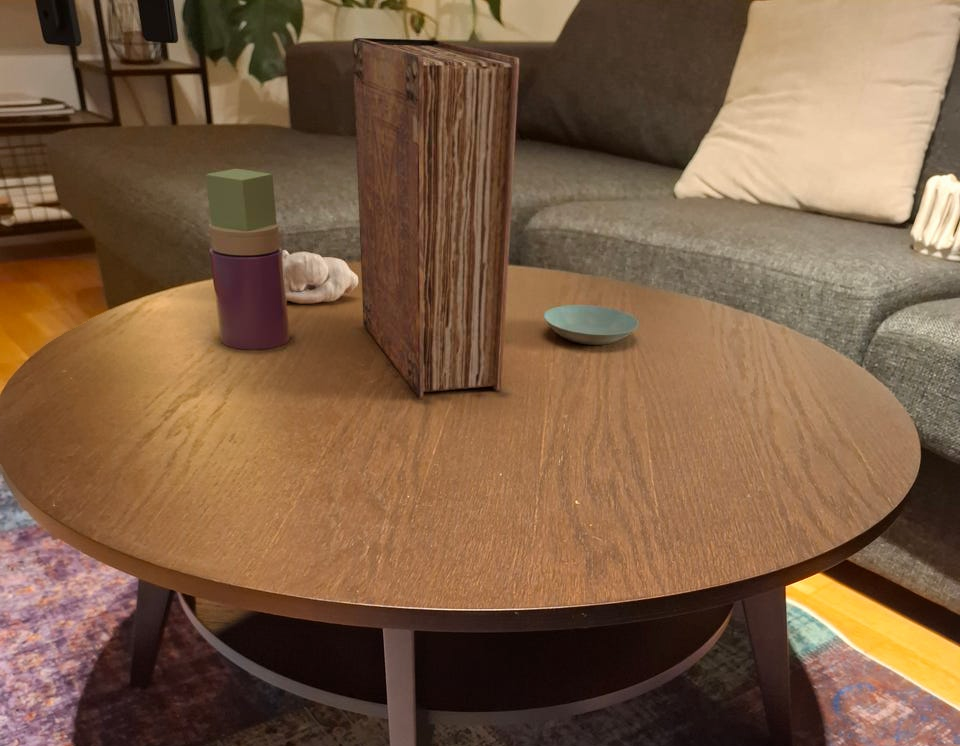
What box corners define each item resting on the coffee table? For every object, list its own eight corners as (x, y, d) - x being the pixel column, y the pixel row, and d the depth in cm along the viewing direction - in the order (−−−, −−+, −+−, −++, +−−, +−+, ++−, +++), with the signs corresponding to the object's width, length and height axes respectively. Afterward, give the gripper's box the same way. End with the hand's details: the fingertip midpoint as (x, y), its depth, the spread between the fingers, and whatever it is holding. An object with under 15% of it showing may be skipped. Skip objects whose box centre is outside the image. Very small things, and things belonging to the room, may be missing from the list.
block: (211, 225, 98) (205, 174, 95) (241, 217, 102) (236, 168, 99) (247, 231, 97) (242, 180, 94) (276, 223, 100) (272, 173, 97)
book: (501, 392, 96) (520, 58, 78) (418, 400, 93) (418, 55, 75) (433, 321, 115) (436, 40, 97) (362, 325, 112) (352, 37, 95)
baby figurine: (365, 298, 123) (358, 254, 115) (292, 343, 120) (280, 301, 112) (328, 257, 125) (319, 210, 117) (256, 300, 122) (241, 255, 114)
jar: (206, 341, 105) (191, 231, 98) (250, 324, 111) (239, 219, 104) (260, 354, 102) (249, 242, 95) (303, 336, 108) (295, 228, 101)
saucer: (646, 331, 115) (648, 313, 114) (622, 358, 106) (625, 339, 105) (558, 317, 119) (560, 299, 117) (528, 342, 110) (530, 323, 108)
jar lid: (196, 248, 99) (193, 225, 98) (240, 236, 105) (238, 214, 103) (250, 259, 97) (248, 235, 95) (293, 246, 102) (291, 223, 101)
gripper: (119, -244, 66) (159, 38, 76) (-102, -306, 53) (-19, 42, 63) (199, -249, 63) (229, 44, 73) (-13, -316, 50) (58, 50, 60)
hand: (114, 43), depth 68 cm, fingers open, 9 cm apart
